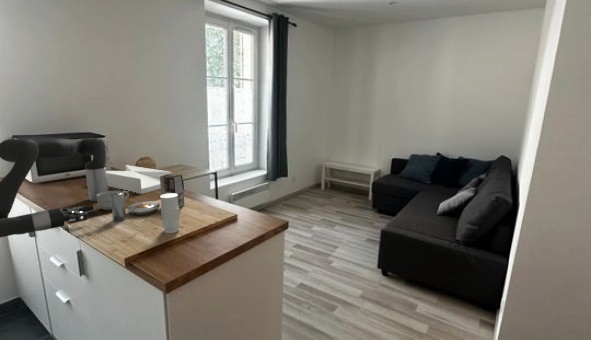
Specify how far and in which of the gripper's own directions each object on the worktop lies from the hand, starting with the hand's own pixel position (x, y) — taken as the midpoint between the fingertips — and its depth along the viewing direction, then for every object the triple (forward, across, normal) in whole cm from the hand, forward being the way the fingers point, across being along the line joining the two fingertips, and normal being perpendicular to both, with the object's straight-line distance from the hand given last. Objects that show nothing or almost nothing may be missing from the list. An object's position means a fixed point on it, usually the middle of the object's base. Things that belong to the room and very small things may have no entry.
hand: (95, 210), depth 133 cm
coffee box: (+34, +2, +7) cm, 35 cm away
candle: (+20, -28, +7) cm, 35 cm away
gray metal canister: (+9, 0, +7) cm, 11 cm away
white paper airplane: (+34, +60, +8) cm, 69 cm away
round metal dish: (+20, +3, +7) cm, 22 cm away
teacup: (+12, +19, +7) cm, 24 cm away
